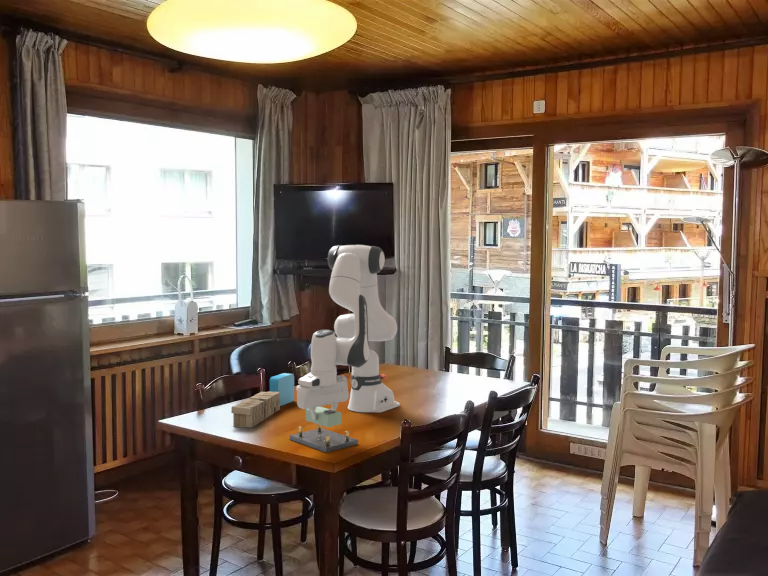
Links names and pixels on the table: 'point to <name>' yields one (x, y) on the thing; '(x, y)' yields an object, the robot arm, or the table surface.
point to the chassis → (323, 439)
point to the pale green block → (325, 417)
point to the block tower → (255, 409)
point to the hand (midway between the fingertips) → (323, 417)
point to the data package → (283, 387)
